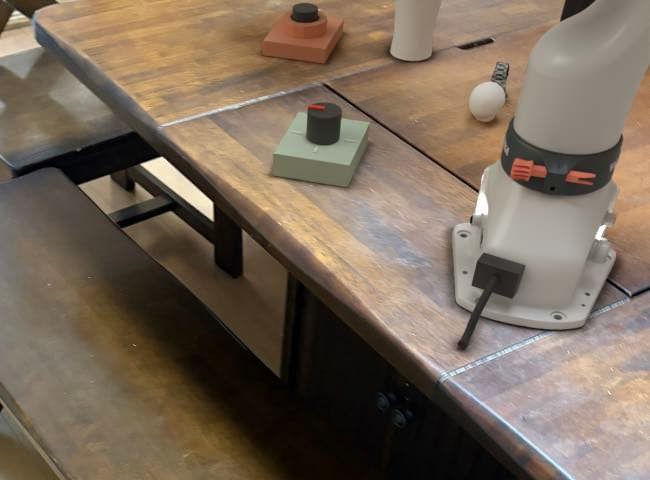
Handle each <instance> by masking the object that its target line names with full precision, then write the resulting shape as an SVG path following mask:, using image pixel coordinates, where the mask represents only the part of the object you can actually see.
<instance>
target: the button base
mask: <svg viewBox="0 0 650 480" xmlns="http://www.w3.org/2000/svg"><path fill="white" fill-rule="evenodd" d="M344 22H345V19H344V18H338V17H329V16H327V14H325V12H322V11H321V10H318V20H317V21H315V22H313V23H299V22H296V21H293V20H292V9H291V10H288V11H283V13H282V15H280V17H279V19H278V20H277V21H276V23H275V24H274V25H273V27H272V28H271V29H270V31H269V32H268V34H266V36H265V38H264V39H263V40H262V56H265V57H271V58H272V57H273V58H279V59H287V60H294V61H302V62H310V63H317V64H325V63H326V62H327V61H328V58H329V57H330V55H331V54H332V52H333V51H334V49H335V47H336V46H337V44H338V42H339V40H340V39H341V38H342V35H343V33H344Z"/></svg>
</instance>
